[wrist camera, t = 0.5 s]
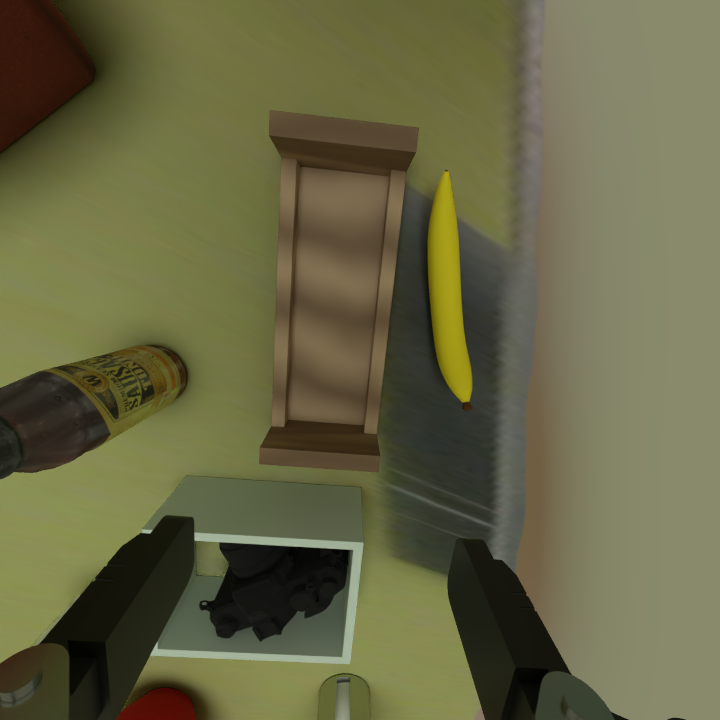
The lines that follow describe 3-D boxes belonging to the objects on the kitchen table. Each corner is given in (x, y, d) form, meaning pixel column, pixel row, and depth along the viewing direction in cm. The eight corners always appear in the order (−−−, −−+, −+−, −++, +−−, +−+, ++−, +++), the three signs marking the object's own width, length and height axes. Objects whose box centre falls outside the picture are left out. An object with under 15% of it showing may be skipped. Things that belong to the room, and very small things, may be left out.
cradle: (288, 149, 29) (269, 110, 22) (403, 162, 30) (419, 127, 23) (277, 428, 35) (259, 464, 28) (373, 435, 36) (378, 472, 29)
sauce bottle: (203, 372, 34) (2, 497, 14) (164, 415, 35) (-75, 587, 15) (148, 326, 32) (-151, 395, 13) (109, 372, 33) (-224, 498, 14)
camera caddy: (186, 475, 36) (141, 529, 28) (360, 487, 37) (363, 542, 29) (189, 580, 39) (149, 655, 31) (350, 589, 40) (349, 664, 32)
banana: (447, 184, 30) (472, 160, 24) (462, 386, 35) (486, 409, 29) (415, 189, 30) (431, 166, 24) (434, 390, 35) (452, 413, 29)
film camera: (321, 470, 37) (311, 529, 28) (356, 539, 39) (358, 615, 30) (195, 519, 38) (148, 592, 29) (237, 585, 40) (204, 671, 31)
